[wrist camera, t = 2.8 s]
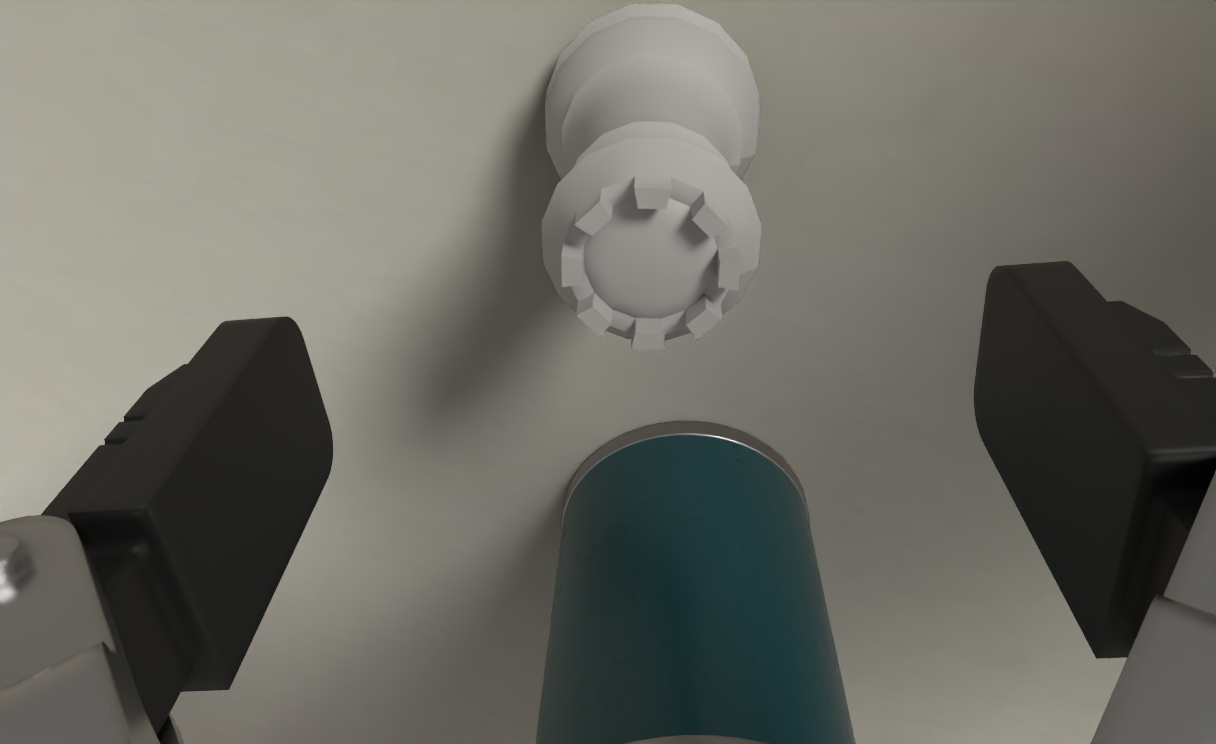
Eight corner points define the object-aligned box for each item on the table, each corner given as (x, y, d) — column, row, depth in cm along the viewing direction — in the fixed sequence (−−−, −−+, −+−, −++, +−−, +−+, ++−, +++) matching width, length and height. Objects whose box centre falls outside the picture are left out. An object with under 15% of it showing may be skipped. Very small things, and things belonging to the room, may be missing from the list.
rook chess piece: (784, 23, 19) (858, 153, 12) (725, 225, 21) (759, 431, 14) (566, -26, 18) (515, 80, 12) (531, 185, 21) (472, 375, 14)
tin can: (696, 374, 23) (720, 708, 15) (856, 527, 26) (956, 891, 17) (513, 512, 26) (443, 863, 17) (673, 639, 28) (682, 1003, 20)
